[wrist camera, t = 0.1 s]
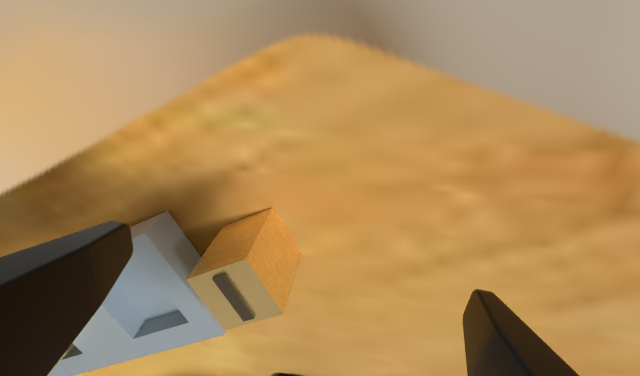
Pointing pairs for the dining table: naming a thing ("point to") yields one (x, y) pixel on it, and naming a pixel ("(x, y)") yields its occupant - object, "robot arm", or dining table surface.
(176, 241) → the grey slotted plate
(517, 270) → the dining table surface
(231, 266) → the block
